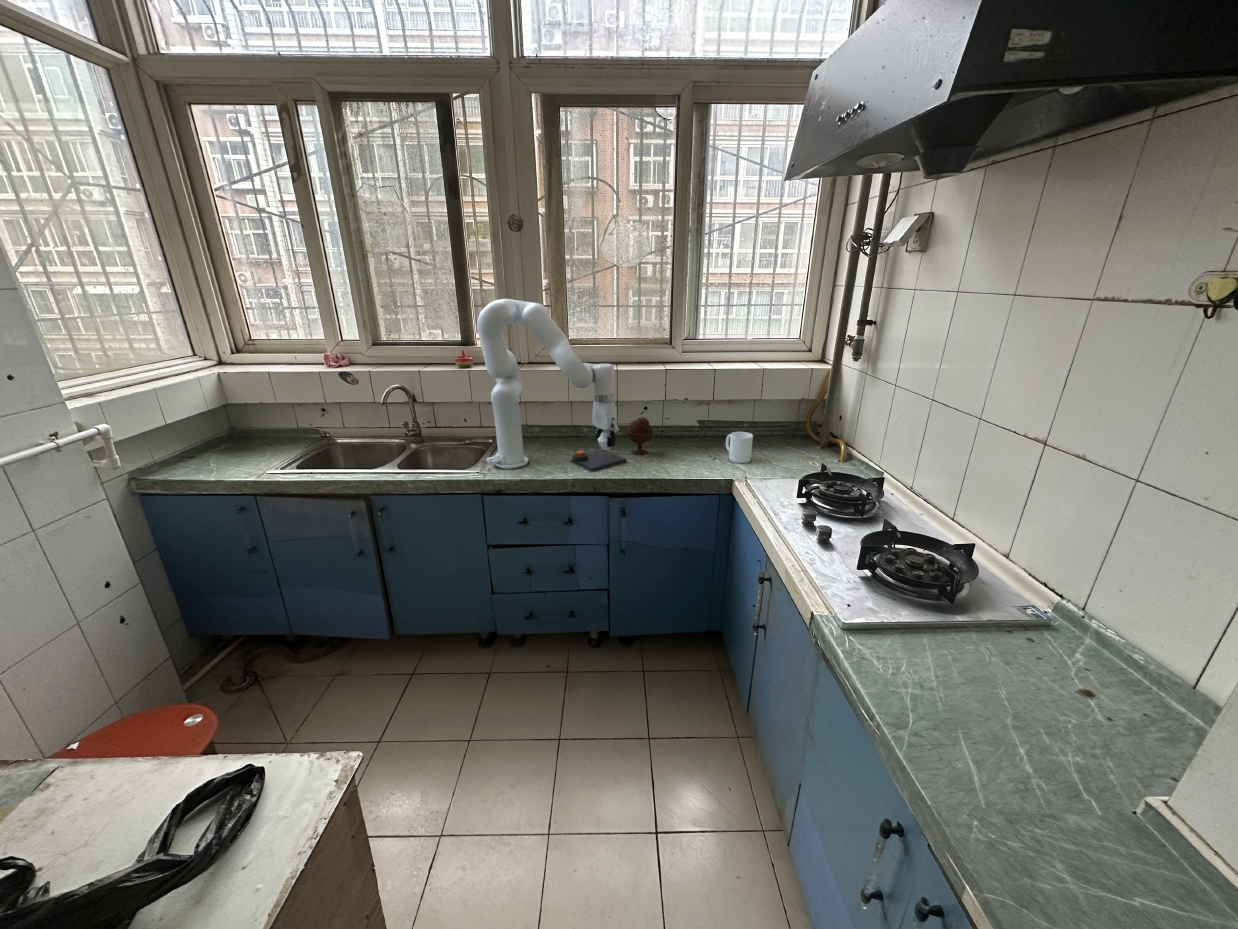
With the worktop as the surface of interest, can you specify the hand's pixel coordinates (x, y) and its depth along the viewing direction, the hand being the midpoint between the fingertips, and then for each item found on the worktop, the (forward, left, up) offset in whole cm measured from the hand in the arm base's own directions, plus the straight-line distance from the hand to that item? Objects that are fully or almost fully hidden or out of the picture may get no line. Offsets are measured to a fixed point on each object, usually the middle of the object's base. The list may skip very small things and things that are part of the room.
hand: (605, 443), depth 190 cm
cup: (+42, -29, -8) cm, 52 cm away
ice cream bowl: (+17, 0, -8) cm, 19 cm away
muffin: (0, 0, -2) cm, 2 cm away
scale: (-2, +2, -7) cm, 8 cm away
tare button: (-8, +7, -5) cm, 11 cm away
